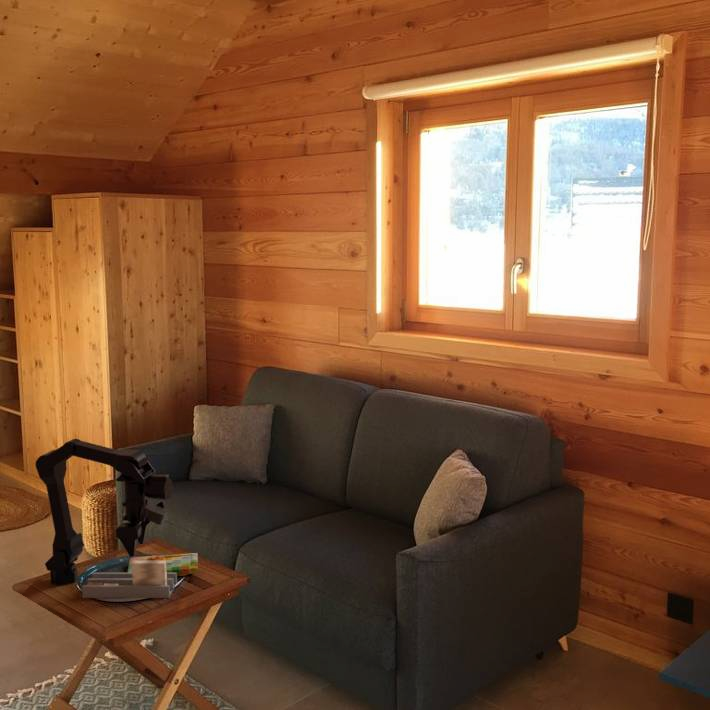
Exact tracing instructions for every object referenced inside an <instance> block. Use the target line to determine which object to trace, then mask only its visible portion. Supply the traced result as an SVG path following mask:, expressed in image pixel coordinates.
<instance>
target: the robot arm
mask: <svg viewBox="0 0 710 710" xmlns="http://www.w3.org/2000/svg"><path fill="white" fill-rule="evenodd" d="M72 457H77V458H80V459H83V460H88V461H91V462H95V463H100V464H103V465H107V466H109V467H112V468H113V469H114V470H115V471H117V472H118V473H120V475H119V476H118V477H117V478H115V480H116V482H123V497H124V499H123V501H122V503H121V504H122V505H121V507H124V514H123V517H122V521H127V522H121V523H119V525H118V526H117V527H116V529H115V530H114V535H115V538H117V539H118V540H119V541H120V542H121V544H122V545H123V547H124V549H125V550H126V552H127V554H128V555H129V557H130V558H132V557H135V554H136V545H137V542H138V545H144V542H145V538H146V533H147V528H148V525H149V524H150V523H155V525H159V526H160V525H162V523H163V522H164V521H165V518H166V517H167V516H166V515H167V513H168V507H167V506H166V502H165V501H162V500H166V501H169V500H170V499H171V497H172V496H173V493H174V492H173V491H174V484H173V482H172V479H170V475H169V474H167V473H166V474H157V472H156V470H155V468H154V467H153V466H152V465H151V463H150V462H149V461H148V457H147V455H146V454H145V452H144V451H142V450H140V449H131V448H130V449H114V448H112V447H107V446H103V445H99V444H94V443H91V442H88V441H83V440H81V439H79V438H72V439H71V440H68V441H66V442H65V443H64V444H63V445H61V446H60V447H59V448H57V449H52V450H50V451H47V452H46V453H44V454H42V455H40V456H38V458H36V460H35V464H34V465H35V468H36V472H37V474H38V478H39V479H40V480H41V481H42V482H43V483H44V485H45V487H46V492H47V497H48V502H49V507H50V514H51V519H52V523H53V528H54V538H53V542H52V556H50V558H49V559H47V561H46V562H45V563H44V567H45V568H46V570H47V571H48V572H50V584H53V585H56V586H65V585H69V584H75V583H77V581H78V580H79V576H78V575H79V574H78V568H76V563H75V562H76V561H78V558H79V556H80V555H82V553H83V550H84V547H85V543H84V542H83V534H82V533H81V532H79V533H77V532H76V531H75V530H74V528H73V522H72V518H71V517H72V516H71V513H70V506H69V502H68V496H67V492H66V485H65V478H66V473H67V470H68V469H67V461H68V460H69V459H71V458H72ZM141 471H143V472H141ZM149 499H150V500H151V499H153V500H159V501H158V502H157V503H156V504H155V503H153V504H152V503H150V502H149Z"/></svg>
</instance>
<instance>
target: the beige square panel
mask: <svg viewBox="0 0 710 710" xmlns="http://www.w3.org/2000/svg"><path fill="white" fill-rule="evenodd" d="M132 577H133V585H167V571H166V561H133V562H132Z"/></svg>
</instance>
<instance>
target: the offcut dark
mask: <svg viewBox="0 0 710 710" xmlns="http://www.w3.org/2000/svg"><path fill="white" fill-rule="evenodd" d="M86 585H103V582H88V583H86Z"/></svg>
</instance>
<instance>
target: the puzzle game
mask: <svg viewBox="0 0 710 710" xmlns="http://www.w3.org/2000/svg"><path fill="white" fill-rule="evenodd" d="M133 561H166V571H167V572H177V577H180V576H187V575H193V574H197V573H198V572H199V554H198V552H195V553H192V552H191V553H177V554H176V553H175V554H162V555H161V554H160V555H156V554H153V555H147V556H134V557H130V558H129V562H128V566H127V567H128V568H127V572H132V562H133Z"/></svg>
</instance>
